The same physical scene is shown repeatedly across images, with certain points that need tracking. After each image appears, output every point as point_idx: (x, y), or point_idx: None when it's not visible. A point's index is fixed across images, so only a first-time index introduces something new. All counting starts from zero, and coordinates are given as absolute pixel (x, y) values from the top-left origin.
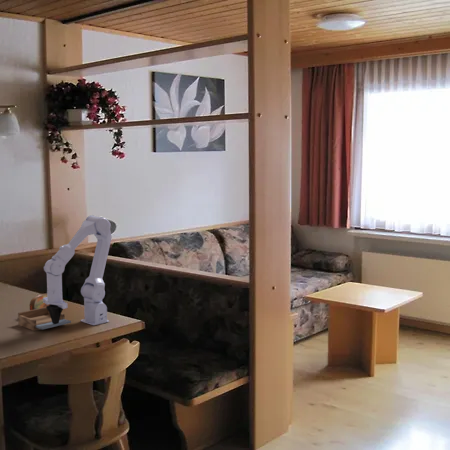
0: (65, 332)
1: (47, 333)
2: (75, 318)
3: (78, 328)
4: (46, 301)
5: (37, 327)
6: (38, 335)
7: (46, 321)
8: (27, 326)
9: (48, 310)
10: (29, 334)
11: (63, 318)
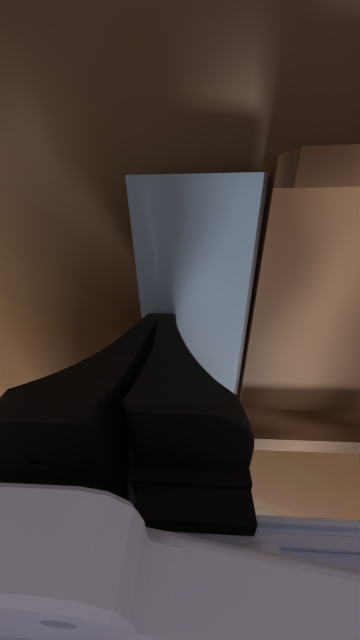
0: (62, 310)
1: (110, 207)
2: (262, 455)
3: None
4: (277, 611)
5: (227, 174)
6: (100, 100)
7: (291, 322)
8: None
9: (190, 375)
10: (194, 31)
11: None
